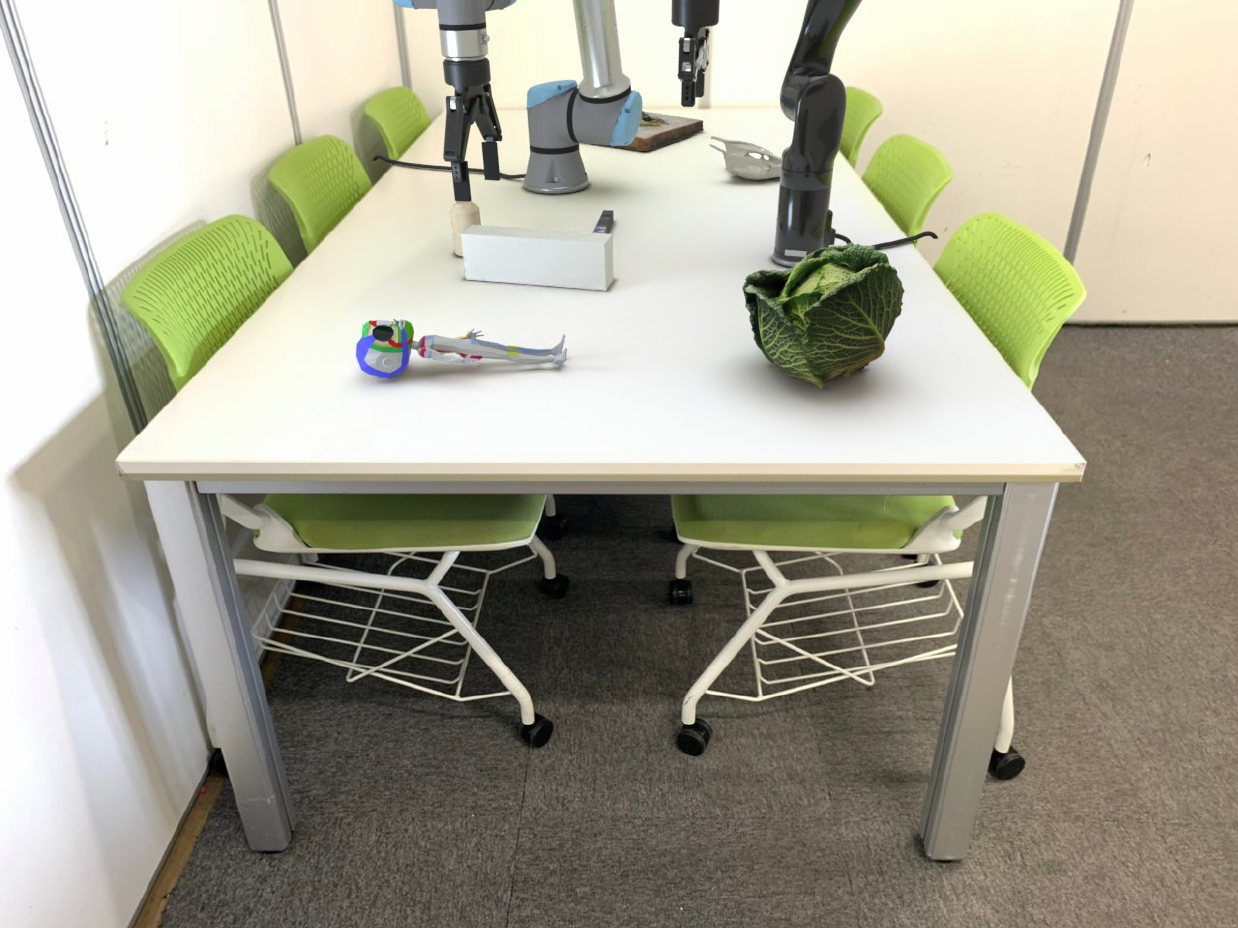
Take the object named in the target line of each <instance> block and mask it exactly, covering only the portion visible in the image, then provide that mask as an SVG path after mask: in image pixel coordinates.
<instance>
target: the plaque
mask: <svg viewBox="0 0 1238 928" xmlns="http://www.w3.org/2000/svg"><path fill="white" fill-rule="evenodd" d="M704 130H705V129H704V120H702V119H698V118H693V117H685V116H679V115H669V114H663V113H659V112H650V111H644V110H642V117H641V122H640V126H639V130H638V132H637V135H636V137H635V139H634V140H633V141H632V143H630V144H629V145H626V146H611V145H604V146H607V147H612V148H620V149H625V150H632V151H640V152H648V151H654V150H656V149H659V148H662V147H663V146H664V147H665V146H667V145H670V144H672V143H676V142H680V141H682V140H684V139H687V138H691V137H692V136H694V135H696V134H698V133H700V132H704ZM598 145H599V146H601V145H600V144H597V146H598Z"/></svg>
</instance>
